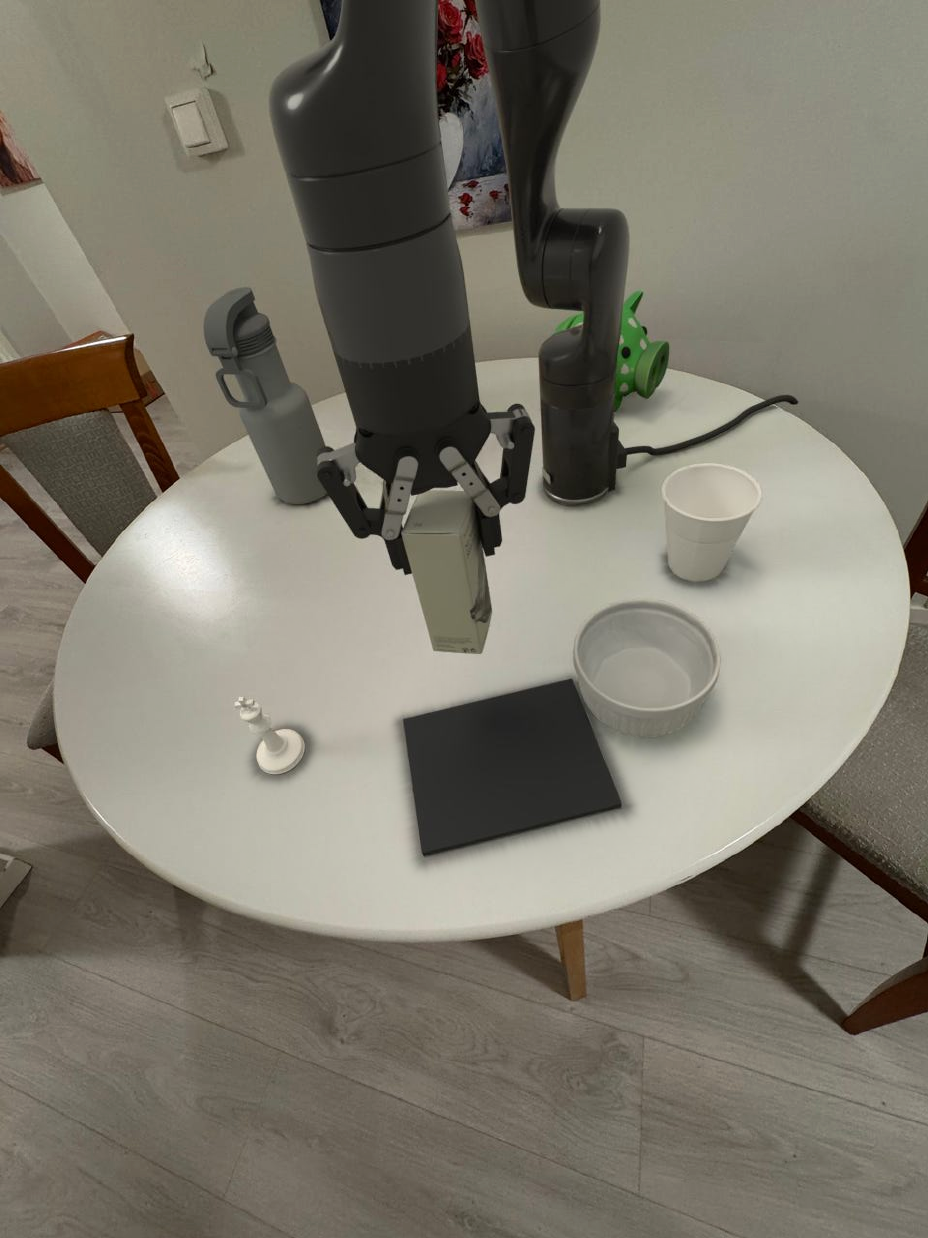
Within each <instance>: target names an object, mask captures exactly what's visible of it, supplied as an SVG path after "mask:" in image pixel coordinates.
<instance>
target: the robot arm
mask: <svg viewBox="0 0 928 1238" xmlns="http://www.w3.org/2000/svg"><path fill="white" fill-rule="evenodd" d="M474 4H475V5H474V6H475V11H476V15H477V21H478V26H479V32H480V37H481V43H482V48H483V52H484V57H485V62H486V64H487V70H488V71H487V72H488V75H489V79H490V85H491V89H492V94H493V100H494V105H495V110H496V116H497V121H498V127H499V133H500V138H501V146H502V150H503V157H504V162H505V170H506V176H507V188H508V195H509V205H510V215H511V223H512V230H513V231H512V232H513V233H512V234H513V242H514V252H515V259H516V265H517V266H516V267H517V272H518V278H519V281H520V282H519V283H520V286H521V290H522V292H523V294H524V296H525V298H526V300H527V301H528V303H530V304H531V305H532V306H535V307H537V308H542V309H548V310H549V309H550V310H559V311H572V312H582V313H583V314H584V318H583V323H582V324H580V325H578V326H575V327H572V328H568V329H565V330H562V331H560V332H558V333H556V334H554V335H552V334H551V335H552V336H551V335H550V336H549V337H547V338H546V339H545V340H544V341H543V342H542V344H541V345H540V347H539V350H538V357H537V358H538V375H539V376H538V382H539V403H540V404H539V405H540V426H541V427H540V429H541V451H542V466H541V474H542V478H543V479H542V488H543V492H544V494H545V495H546V497H548V498H549V500H551V501H553V502H555V503H558V504H561V505H564V506H576V507H577V506H585V505H586V506H587V505H590V504H593V503H596V502H597V501H599V500H601V499H603V498H604V497H605V496H606V495H607V494H609V492H614V491H616V483H617V471H618V470H620V469H624V468H627V461H628V456H629V455H636V454H648V455H650V456H661V455H667V454H672V453H676V452H678V451H682V450H685V449H688V448H691V447H694V446H697V445H700V444H702V443H705V442H708V441H710V440H711V439H714V438H716V437H718V436H720V435H722V434H724V433H726V432H728V431H730V430H732V429H734V428H735V427H736V426H738V425H740V424H741V423H742V422H743V421H745V419H747V418H748V417H749V416H751V415H753V414H754V413H757V412H759V411H761V410H764V409H766V408H769V407H771V406H773V405H776V404H779V403H784V402H785V403H788V404H790V405H791V406H793V405H794V406H795V405H798V404H799V403H800V402H799V400H798V398H796V397H795V396H794V395H790V394H780V395H777V396H773V397H771V398H768V399H766V400H764V401H761V402H759V403H757V404H754V405H752V406H750V407H748V408H747V409H744V411H742V412H741V413H740V414H738V415H737V416H736V417H734V418H733V419H732V420H729V421H728V422H726V423H724V424H723V425H721V426H719V427H717V428H715V429H712V430H711V431H709V432H706V433H704V434H701V435H699V436H695V437H693V438H691V439H688V440H684V441H681V442H678V443H675V444H672V445H668V446H664V447H656V448H654V447H652V446H650V445H635V446H628V447H625V446H624V445H623V444H622V442H621V441H620V428H619V426H618V425H617V423H616V422H615V413H614V409H615V391H616V374H617V359H618V349H619V342H620V336H621V327H622V313H623V304H624V302H625V292H626V286H627V285H626V284H627V277H628V268H629V259H630V240H631V238H630V226H629V222H628V219H627V217H626V215H625V213H624V212H623V211H622V210H620V209H618V208H612V207H600V208H599V207H561V206H560V204H559V202H558V198H557V191H556V190H557V189H556V163H557V157H558V154H559V150H560V147H561V143H562V140H563V137H564V135H565V132H566V129H567V127H568V124H569V122H570V119H571V117H572V116H573V115H572V114H573V112H574V110H575V108H576V105H577V102H578V100H579V98H580V95H581V93H582V91H583V88H584V86H585V84H586V81H587V78H588V75H589V72H590V70H591V67H592V64H593V61H594V58H595V55H596V51H597V47H598V43H599V37H600V32H601V21H602V13H601V12H602V11H601V10H602V9H601V8H602V7H601V0H474ZM339 14H340V15H339V21H338V26H337V29H336V32H335V35H334V36H333V38H332V39H331V40H330V41H329V42H327V43H326V44H325V45H324V46H321V47H319V48H318V49H316V50H313V52H310V53H308V54H307V55H305V56H303V57H301V58H299V59H297V60H295V61H294V62H292V63H290V64H289V65H287V66H286V67H285V68H284V69H282V70H281V71H280V72H279V74H278V75H276V77H275V78H274V79H273V81H272V83H271V85H270V88H269V94H268V108H269V109H268V112H269V117H270V122H271V127H272V133H273V136H274V139H275V144H276V148H277V150H278V154H279V157H280V161H281V164H282V168H283V170H284V172H285V177H286V179H287V184H288V187H289V190H290V193H291V197H292V200H293V203H294V207H295V210H296V213H297V217H298V220H299V223H300V227H301V230H302V233H303V237H304V241H305V244H306V245H305V246H306V249H307V253H308V256H309V262H310V263H309V264H310V268H311V272H312V279H313V284H314V285H313V286H314V290H315V295H316V299H317V302H318V306H319V310H320V313H321V316H322V320H323V324H324V327H325V329H326V332H327V335H328V338H329V342H330V345H331V349H332V352H333V355H334V359H335V362H336V366H337V368H338V372H339V376H340V378H341V382H342V384H343V388H344V392H345V395H346V399H347V401H348V405H349V408H350V412H351V415H352V418H353V422H354V424H355V433H354V436H353V442H351V443H349V444H346V445H344V446H342V447H339V448H337V449H334V448H333V447H332V446H329V445H328V446H327V445H326V446H323V447H321V448H319V449H318V451H317V477H318V479H319V481H320V483H321V484H322V486H323V487H324V489H325V490H326V492H327V494H326V495H328V497H329V498H330V500H331V501H332V503H333V505H334V506H335V508H336V509H337V511H338V512H339V514H340V516H341V517H342V519H343V520H344V522H345V523H346V525H347V526H348V528H349V530H350V531H351V532H352V535H353V536H354V537H355V538H357V539H360V540H363V539H367V538H368V537H370V536H379V537H381V538H382V539H383V541H384V544H385V548H386V550H387V554H388V557H389V560H390V563H391V566H392V567H393V568H394V569H395V570H396V571H398V570H399V571H400V570H402V571H403V574H404V576H407V575H412V571H411V567H410V564H409V560H408V556H407V553H406V549H405V545H404V542H403V538H402V534H401V532H402V530H403V527H404V525H403V519H404V516H405V515H406V514H407V510H408V508H409V507H408V506H409V502H410V497H413V496H417V495H418V494H422V493H425V492H427V491H429V490H434V489H448V488H453V487H456V486H457V487H458V486H460V487H461V488H462V491H465V492H466V493H467V495H468V496H469V497H470V499H473V500H474V502H475V507H476V514H477V521H478V527H479V534H480V539H481V544H482V547H483V552H484V557H486V558H487V557H492V556H495V555H496V551H495V548H500V547H501V546H502V544H503V543H502V542H503V534H502V525H501V519H500V518H501V516H500V514H501V513H500V512H501V510H502V509H503V508H504V507H505V506H507V505H508V504H512V505H518V504H519V505H520V503H522V502H523V501H524V500H525V498H526V495H527V489H528V481H529V473H530V467H531V460H532V455H533V454H532V453H533V446H534V439H535V434H536V433H535V432H536V427H535V425H534V423H533V421H532V419H531V417H530V415H529V413H528V412H527V410H526V408H525V406H524V405H523V404H521V403H513V404H511V405H510V406H509V407H508V408H507V411H490V412H488V411H487V409H486V407H484V405H483V404H482V403H481V400H480V392H479V383H478V374H477V366H476V360H475V352H474V351H475V349H474V344H473V336H472V328H471V320H470V311H469V304H468V303H469V301H468V295H467V288H466V287H467V286H466V281H465V280H466V279H465V272H464V266H463V260H462V255H461V250H460V247H459V243H458V239H457V236H456V231H455V228H454V222H453V217H452V212H451V204H450V203H451V202H450V196H449V189H448V188H449V187H448V182H447V173H446V165H445V158H444V150H443V143H442V133H441V126H440V118H439V117H440V116H439V107H438V77H437V75H438V72H437V71H438V65H437V64H438V25H439V24H438V23H439V20H438V19H439V0H341V8H340V13H339ZM491 434H493V435H495V437H496V440H497V442H498V444H499V446H500V447H501V448H502V455H501V464H500V465H501V466H500V472H499V473H500V474H499V477H498V478H497V479H495V480H493V481H491V482H490V480H489V479H488V477H487V476H486V475H485V473H484V472H483V471H482V469H481V467H480V465H479V463H478V462H477V461H476V460H477V458H478V457H479V455H480V453H481V451H482V450H483V447H484V446H485V444H486V442H487V441H488V439H489V437H490V435H491ZM358 464H361V465H363V466H364V467H365V468H367V470H370V471H371V472H373V473H374V474H375V475H377V476H378V477H379V478H381V479H382V490H381V498H380V502H379V506H378V507H369V506H368V505H367V503H366V502H365V500H364V498H363V496H362V494H361V493H360V491H359V490H358V488H357V486H356V484H355V481H356V479H357V472H356V467H357V466H358Z"/></svg>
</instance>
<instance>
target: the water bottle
mask: <svg viewBox="0 0 928 1238" xmlns="http://www.w3.org/2000/svg"><path fill="white" fill-rule="evenodd" d="M255 300H256V297H255V295H254V291H253V290H252V288H251V287H250V286H242V287H236V288H233V289H231V290H229V291H226V292H225V293H224V294H223V295H222V296H220V297H219V298H218V299H216V300H215V301H214V302H212V303H211V304H210V305H209V306H208V308H207V309H206V312H205V314H204V318H203V328H202V329H203V337H204V341H205V345H206V347H207V350H208V351H209V354H210V355H211V356H212V357H217V358H218V359H219V361H220V364H221V366H222V367H221V368H219V369H218V370H217V371H216V372H215V379H216V381H217V383H218V385H219V387H220V390H221V391H222V394H223V396H224V398H225V400H226V401H227V403H228V404H229V405H230V406H232V407H234V408H238V413H239V418H240V420H241V422H242V424H243V426H244V428H245V430H246V433H247V435H248V437H249V439H250V441H251V443H252V446H253V448H254V450H255V453H256V454H257V456H258V459H259V461H260V463H261V465H262V467H263V469H264V471H265V474H266V476H267V478H268V480H269V482H270V484H271V487H272V489H273V491H274V493H275V495H276V496H277V498H278V499H279V500H281V501H282V502H284V503H287V504H291V505H304V504H305V505H306V504H309V503H312V502H315V501H317V500H319V499H322V498H323V497H325V496H326V495H328V494H327V492H326V490H325V489H324V487H323V486H322V484H321V483H320V481H319V479H318V477H317V451H318V449H319V448H321V447H323V446H327V445H326V442H325V439H324V437H323V435H322V432H321V429H320V426H319V423H318V420H317V417H316V415H315V412H314V409H313V407H312V404H311V401H310V398H309V395H308V394H307V391H306V390H305V389H304V387H302V386H301V385H300V384H298V383H296V382H293V381H291V380H290V378H289V375H288V373H287V369H286V367H285V364H284V361H283V359H282V357H281V353H280V351H279V348H278V346H277V337H276V336H275V335H274V333H273V330H272V327H271V322H270V319H269V317H268V316H267V315H266V314H265V313H261V312H259V311H258V309H257V307H256V304H255ZM225 375H234V377H235V380H236V381H237V384H238V386H239V389H240V391H241V392H242V395H243V397H242V398H241V400H240V401H239V400H238V399H236V398H235V397H234V396H233V395H232V393H231V391H230V389H229V387H228V384H227V382H226V380H225V377H224V376H225Z"/></svg>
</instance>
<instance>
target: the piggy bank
mask: <svg viewBox="0 0 928 1238" xmlns="http://www.w3.org/2000/svg"><path fill="white" fill-rule="evenodd" d="M643 296H644V290H635V291H634V292H632V293H631V294H630V295H629V296H628V298H626V300H624V303H623V313H622V327H621V336H620V342H619V349H618V359H617V374H616V391H615V409H614V414H615V413H616V412H617V411H618V409H619V408H620V407H621V405H622V402H623V400H624V398H625V397H628V396H629V395H630V394H633V393H636V394H637V395H638V396H640V397H641V398H643V399H645V400H648V399H650V398H651V397H652V396H653V395H654V394H655V391H656V389H657V388H658V387H659V386H660V385H661V383H662V381H663V380H664V378H665V375H666V373H667V369H668V365H669V361H670V360H669V359H670V343H669V341H668V340H657V341H652V342H651V341H650V340H649V338H648V336H647V335H648V329H647V327H646V326H644V325H641V323H640V321H639V319H638V317H637V315H636V312H637V309H638V307H639V305H640V303H641V301H642V298H643ZM583 318H584V314H583V312H580V313H577V314H574V315H572V316H570V317H568V318H566V319H565V320H563V321H562V322H560V323H559V324H558V326H556V327H555V329H554V330H553V331H552V333H551V335H550V336H552V335H554V334H556V333H558V332H560V331H562V330H565V329H568V328H572V327H575V326H578V325H580V324H582V323H583Z"/></svg>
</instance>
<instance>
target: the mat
mask: <svg viewBox="0 0 928 1238" xmlns="http://www.w3.org/2000/svg"><path fill="white" fill-rule="evenodd" d="M402 722H403V723H402V724H403V730H404V737H405V744H406V750H407V751H406V752H407V759H408V764H409V765H408V766H409V773H410V780H411V787H412V794H413V800H414V801H413V802H414V808H415V815H416V823H417V829H418V836H419V843H420V850H421V854H422V857H427V856H431V855H435V854H438V853H439V854H440V853H443V852H447V851H451V850H455V849H459V848H463V847H467V846H472V845H475V844H479V843H483V842H487V841H491V840H496V839H499V838H504V837H507V836H512V835H515V834H519V833H523V832H529V831H532V830H536V829H539V828H544V827H548V826H551V825H556V824H560V823H565V822H568V821H572V820H576V819H580V818H583V817H588V816H593V815H597V814H600V813H605V812H608V811H612V810H617V809H620V808H622V806H623V803H622V800H621V798H620V795H619V792H618V790H617V787H616V785H615V783H614V780H613V777H612V775H611V772H610V769H609V768H608V764H607V762H606V760H605V758H604V755H603V751H602V749H601V747H600V745H599V742H598V740H597V738H596V737H597V736H596V735H595V732H594V730H593V728H592V727H593V726H592V725H591V721H590V719H589V717H588V715H587V712H586V710H585V707H584V704H583V703H582V699H581V697H580V694H579V692H578V690H577V687H576V684H575V682H574V679H573V678H567V679H563V680H559V681H555V682H550V683H547V684H542V685H539V686H534V687H530V688H526V689H521V690H518V691H514V692H509V693H504V694H501V695H497V696H492V697H488V698H484V699H479V700H477V701H472V702H468V703H463V704H460V705H459V704H458V705H455V706H451V707H446V708H443V709H439V710H433V711H430V712H426V713H422V714H418V715H414V716H409V717H406V718H403V719H402Z"/></svg>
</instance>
